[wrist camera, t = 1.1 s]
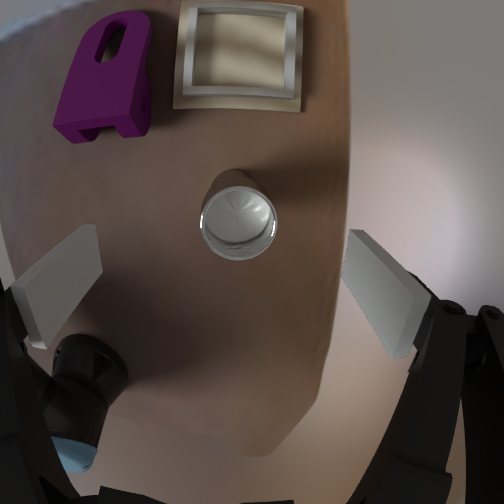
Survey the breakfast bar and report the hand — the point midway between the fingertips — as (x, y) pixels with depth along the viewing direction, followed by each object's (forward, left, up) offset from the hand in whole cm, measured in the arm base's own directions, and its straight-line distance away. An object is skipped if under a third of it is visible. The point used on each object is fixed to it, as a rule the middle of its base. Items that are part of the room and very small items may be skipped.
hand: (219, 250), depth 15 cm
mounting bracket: (+15, +14, -26) cm, 33 cm away
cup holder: (+17, -2, -25) cm, 31 cm away
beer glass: (-2, -2, -26) cm, 26 cm away
